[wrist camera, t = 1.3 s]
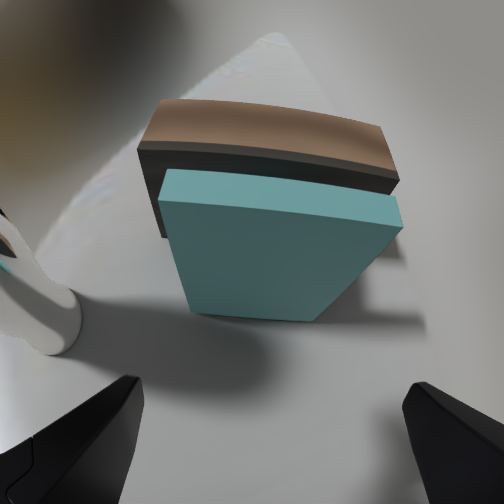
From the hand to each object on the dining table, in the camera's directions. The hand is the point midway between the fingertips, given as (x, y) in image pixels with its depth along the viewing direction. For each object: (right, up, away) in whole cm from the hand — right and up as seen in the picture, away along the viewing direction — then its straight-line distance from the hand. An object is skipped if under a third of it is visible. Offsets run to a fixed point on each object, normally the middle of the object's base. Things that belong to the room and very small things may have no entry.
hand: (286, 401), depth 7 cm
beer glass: (-17, -2, +13) cm, 22 cm away
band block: (0, +7, +19) cm, 20 cm away
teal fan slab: (-1, +2, +16) cm, 16 cm away
